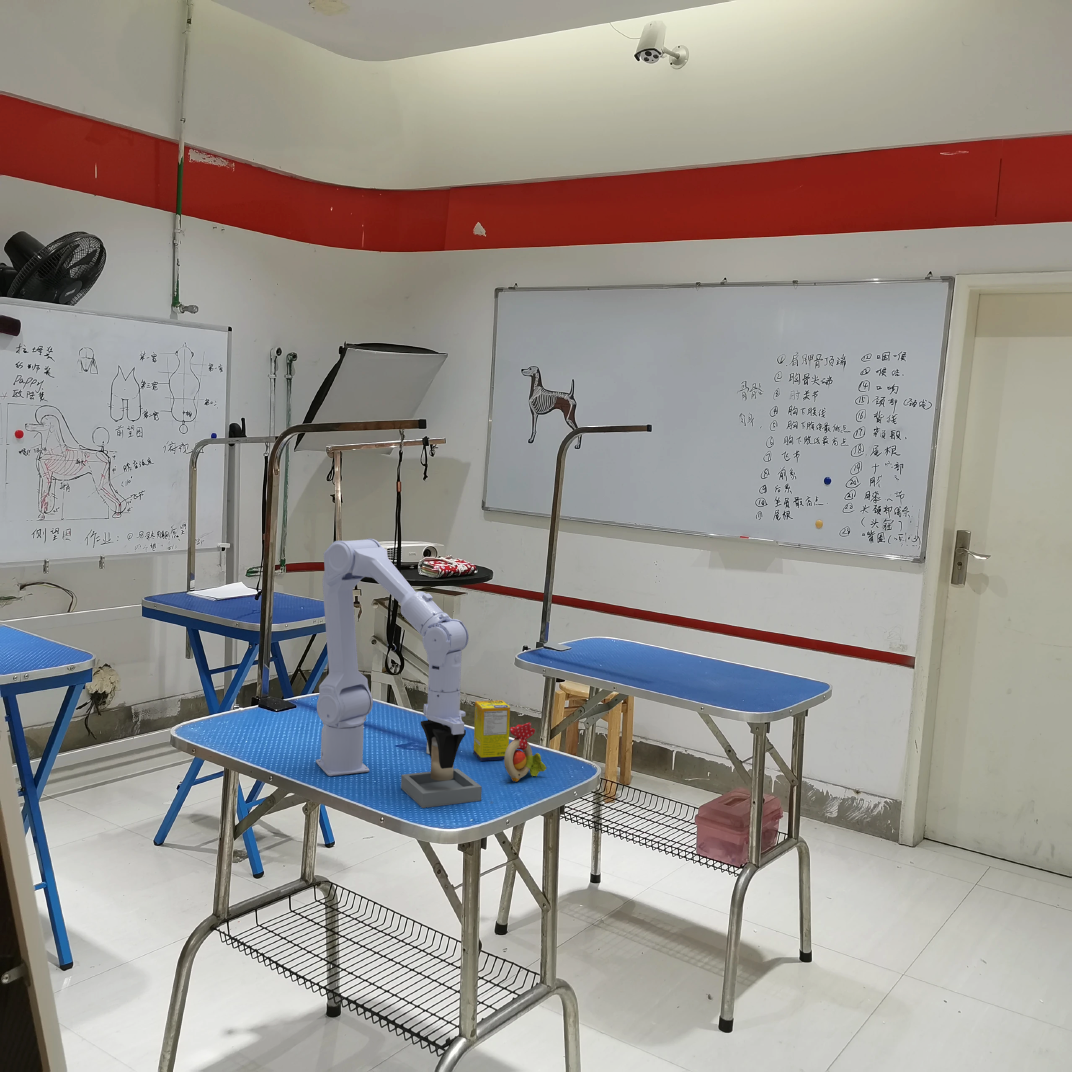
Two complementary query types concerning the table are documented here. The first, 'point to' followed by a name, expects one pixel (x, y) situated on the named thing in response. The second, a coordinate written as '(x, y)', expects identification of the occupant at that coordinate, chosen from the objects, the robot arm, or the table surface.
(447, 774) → the cylinder
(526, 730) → the bird rattle
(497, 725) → the supplement box
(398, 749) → the table surface
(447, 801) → the tray
